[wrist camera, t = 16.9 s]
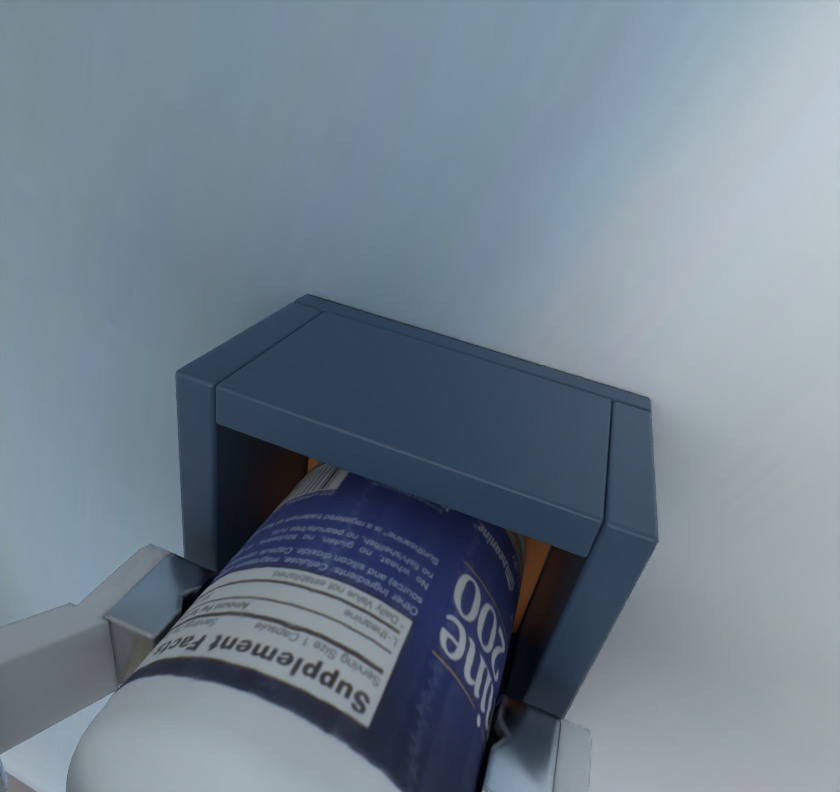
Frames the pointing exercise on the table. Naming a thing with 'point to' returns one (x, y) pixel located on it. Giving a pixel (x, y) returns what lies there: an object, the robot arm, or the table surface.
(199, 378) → the divided storage box
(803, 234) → the table surface
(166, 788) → the pill bottle
